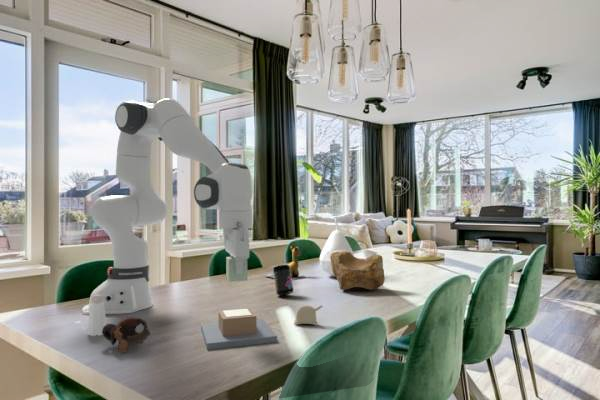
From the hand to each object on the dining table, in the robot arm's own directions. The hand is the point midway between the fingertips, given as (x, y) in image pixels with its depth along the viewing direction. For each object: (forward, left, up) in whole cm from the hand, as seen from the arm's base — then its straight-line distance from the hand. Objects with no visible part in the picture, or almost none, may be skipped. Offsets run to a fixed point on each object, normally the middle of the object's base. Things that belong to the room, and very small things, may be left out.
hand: (236, 271), depth 119 cm
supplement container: (+25, +43, -18) cm, 53 cm away
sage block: (0, 0, -2) cm, 2 cm away
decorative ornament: (+18, +4, -18) cm, 26 cm away
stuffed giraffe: (+38, +81, -18) cm, 91 cm away
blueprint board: (0, 0, -18) cm, 18 cm away
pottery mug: (-29, +1, -18) cm, 34 cm away
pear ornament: (+62, +75, -18) cm, 99 cm away
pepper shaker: (-37, +14, -18) cm, 43 cm away
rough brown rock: (+55, +44, -18) cm, 73 cm away
